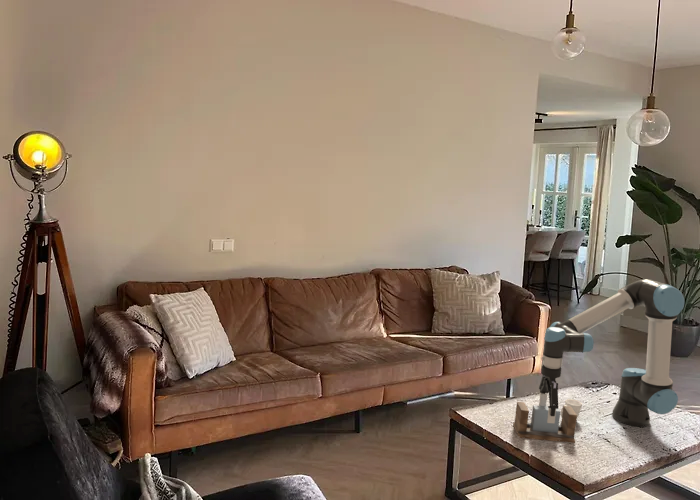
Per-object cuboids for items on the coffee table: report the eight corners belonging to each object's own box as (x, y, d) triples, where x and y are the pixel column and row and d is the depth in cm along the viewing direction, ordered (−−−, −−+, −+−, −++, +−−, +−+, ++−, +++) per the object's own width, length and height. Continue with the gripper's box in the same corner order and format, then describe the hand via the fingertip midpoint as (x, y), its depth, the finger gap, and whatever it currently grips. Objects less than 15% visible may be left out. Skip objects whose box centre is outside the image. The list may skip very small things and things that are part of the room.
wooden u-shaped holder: (566, 429, 247) (569, 404, 245) (575, 443, 235) (578, 417, 233) (513, 424, 248) (516, 399, 246) (519, 437, 236) (522, 411, 234)
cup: (583, 422, 255) (585, 404, 254) (566, 425, 251) (568, 407, 250) (571, 415, 261) (573, 398, 260) (554, 418, 257) (556, 400, 256)
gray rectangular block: (554, 430, 243) (557, 407, 241) (557, 434, 239) (560, 411, 237) (530, 427, 243) (533, 405, 242) (532, 432, 239) (535, 409, 238)
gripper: (534, 355, 249) (530, 402, 253) (550, 376, 225) (544, 428, 228) (552, 356, 249) (547, 403, 252) (570, 377, 224) (564, 430, 228)
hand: (546, 415), depth 240 cm, fingers open, 13 cm apart
